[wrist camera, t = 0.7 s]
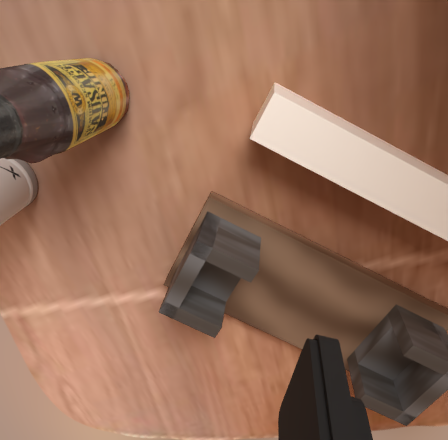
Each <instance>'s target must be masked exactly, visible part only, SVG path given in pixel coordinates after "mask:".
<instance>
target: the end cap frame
mask: <svg viewBox="0 0 448 440" xmlns="http://www.w3.org/2000/svg"><path fill="white" fill-rule="evenodd" d="M164 285H165V286H167V287H169V288H168V290H167V293H166V295H165V298H164V300H163V303H162V305H161V308H160V310H159V313H161V314H164V315H166V316H168V317H170V318H172V319H175V320H177V321H179V322H181V323H183V324H185V325H188V326H190V327H192V328H194V329H196V330H198V331H201V332H203V333H205V334H207V335H209V336H212V337H214V338H215V337H216V335H217V334H218V332H219V331H220V329H221V328H222V322H223V317H224V313H225V314H227V315H229V316H232V317H234V318H236V319H238V320H240V321H242V322H244V323H247V324H249V325H251V326H253V327H255V328H257V329H259V330H262V331H264V332H266V333H268V334H270V335H272V336H274V337H277V338H279V339H281V340H283V341H285V342H287V343H289V344H292V345H294V346H296V347H298V348H300V349H303V346H304V344H305V341H306V339H307V338H309V339H313V338H314V336H315V335H321V336H326V337H330V338H334V339H338V340H339V343H340V347H341V352H342V357H343V362H344V367H345V370H347V371H349V372H350V375H351V380H352V385H353V389H354V394H355V398H358V399H361V400H362V401H363V403H364V406H365V407H366V408H369V409H371V410H373V411H375V412H377V413H379V414H382V415H384V416H386V417H388V418H390V419H393V420H395V421H397V422H399V423H401V424H403V425H406V426H407V425H408V424H409V423H410V422H412V421H413V420H414V419H415V418H416V417H417V416H418V415H420V414H421V413H422V412H423V411H424V410H425V409H426V408H428V407H429V406H430V405H431V404H432V403H433V402H434V401H435V400H437V399H438V398H439V397H440V396H441V395H442V394H443V393H445V392H446V391H447V390H448V334H447V332H446V331H447V330H448V309H447V308H445V307H443V306H441V305H439V304H437V303H435V302H433V301H431V300H429V299H427V298H425V297H423V296H421V295H419V294H417V293H415V292H413V291H411V290H409V289H407V288H405V287H403V286H401V285H399V284H397V283H395V282H393V281H391V280H389V279H387V278H385V277H383V276H381V275H379V274H377V273H375V272H373V271H371V270H369V269H367V268H365V267H363V266H361V265H359V264H357V263H355V262H353V261H351V260H349V259H347V258H345V257H343V256H341V255H339V254H337V253H335V252H333V251H331V250H329V249H327V248H325V247H323V246H321V245H319V244H317V243H315V242H313V241H311V240H309V239H307V238H305V237H303V236H301V235H299V234H297V233H295V232H293V231H291V230H289V229H287V228H285V227H283V226H281V225H279V224H277V223H275V222H273V221H271V220H269V219H267V218H265V217H263V216H261V215H259V214H257V213H255V212H253V211H251V210H249V209H247V208H245V207H243V206H241V205H239V204H237V203H235V202H233V201H231V200H229V199H227V198H225V197H223V196H221V195H219V194H217V193H215V192H213V191H211V193H210V195H209V197H208V199H207V201H206V203H205V205H204V207H203V209H202V210H201V212H200V214H199V216H198V218H197V220H196V222H195V224H194V226H193V228H192V230H191V232H190V234H189V235H188V237H187V239H186V241H185V243H184V245H183V247H182V249H181V251H180V253H179V255H178V257H177V259H176V261H175V262H174V264H173V266H172V268H171V270H170V272H169V274H168V276H167V278H166V280H165V283H164Z"/></svg>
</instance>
